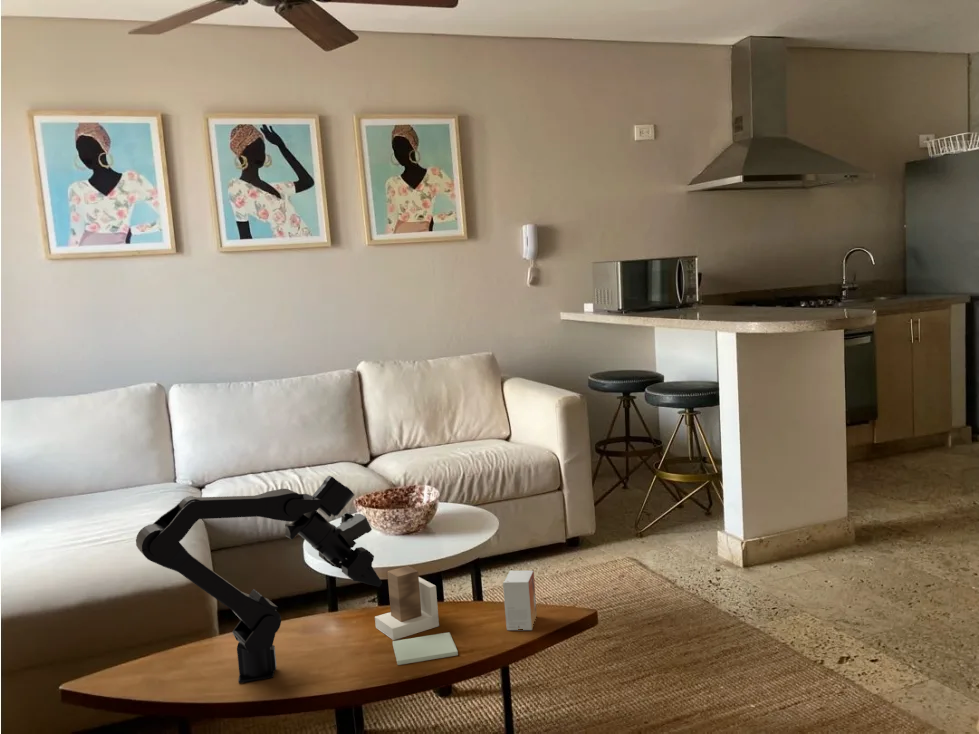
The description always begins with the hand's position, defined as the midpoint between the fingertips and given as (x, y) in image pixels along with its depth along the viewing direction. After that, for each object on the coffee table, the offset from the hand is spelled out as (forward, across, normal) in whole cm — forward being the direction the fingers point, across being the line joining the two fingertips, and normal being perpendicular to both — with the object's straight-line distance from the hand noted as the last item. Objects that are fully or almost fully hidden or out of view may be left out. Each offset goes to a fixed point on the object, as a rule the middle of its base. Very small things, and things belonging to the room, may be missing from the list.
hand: (372, 579), depth 169 cm
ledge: (+15, +1, +2) cm, 15 cm away
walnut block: (+13, +1, +1) cm, 13 cm away
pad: (+13, -12, +4) cm, 18 cm away
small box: (+28, -14, -13) cm, 34 cm away
